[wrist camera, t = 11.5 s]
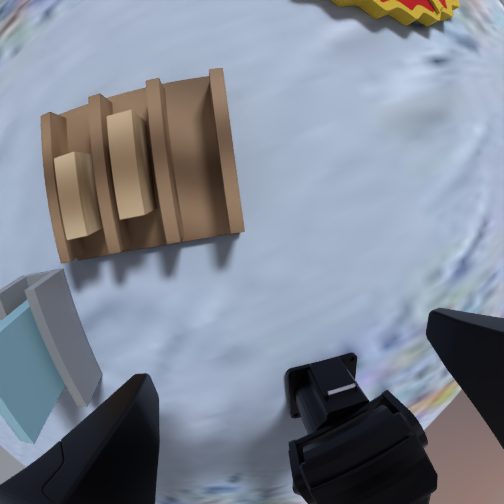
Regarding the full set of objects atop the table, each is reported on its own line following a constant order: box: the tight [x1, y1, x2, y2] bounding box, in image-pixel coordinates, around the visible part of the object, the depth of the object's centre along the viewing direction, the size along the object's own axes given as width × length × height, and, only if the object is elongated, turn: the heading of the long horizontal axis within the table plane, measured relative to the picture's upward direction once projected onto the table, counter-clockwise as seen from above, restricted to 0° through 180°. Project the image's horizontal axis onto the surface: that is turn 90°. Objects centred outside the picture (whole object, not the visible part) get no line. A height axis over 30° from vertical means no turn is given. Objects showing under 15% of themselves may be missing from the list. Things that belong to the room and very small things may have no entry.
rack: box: [41, 68, 245, 263], centre depth 16 cm, size 11×12×3 cm
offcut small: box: [54, 152, 103, 240], centre depth 15 cm, size 5×2×4 cm, turn 8°
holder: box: [0, 269, 102, 407], centre depth 17 cm, size 10×5×4 cm, turn 8°
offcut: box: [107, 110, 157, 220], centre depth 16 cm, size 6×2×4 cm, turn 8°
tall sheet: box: [0, 300, 66, 444], centre depth 14 cm, size 7×2×10 cm, turn 7°
